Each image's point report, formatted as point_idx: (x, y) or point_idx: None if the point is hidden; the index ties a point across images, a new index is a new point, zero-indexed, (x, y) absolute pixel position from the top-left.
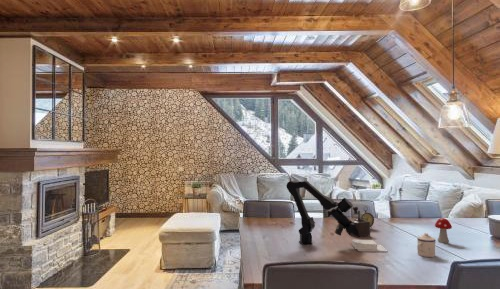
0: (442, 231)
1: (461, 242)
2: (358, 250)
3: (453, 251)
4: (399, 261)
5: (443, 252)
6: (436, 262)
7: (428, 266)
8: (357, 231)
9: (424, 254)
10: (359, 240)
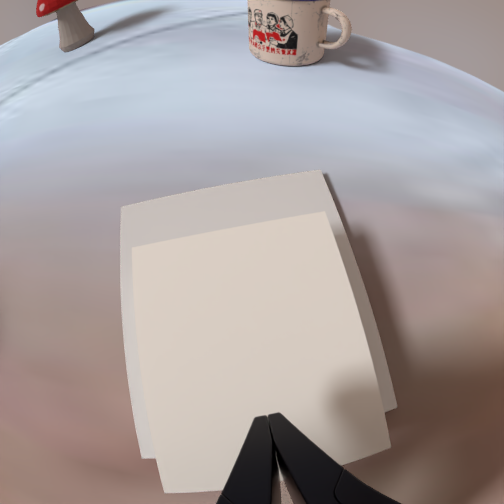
0: (73, 11)
1: None
2: (394, 404)
3: (196, 15)
4: (471, 151)
5: (218, 24)
6: (384, 53)
7: (452, 85)
8: (343, 472)
9: (323, 49)
10: (189, 410)
